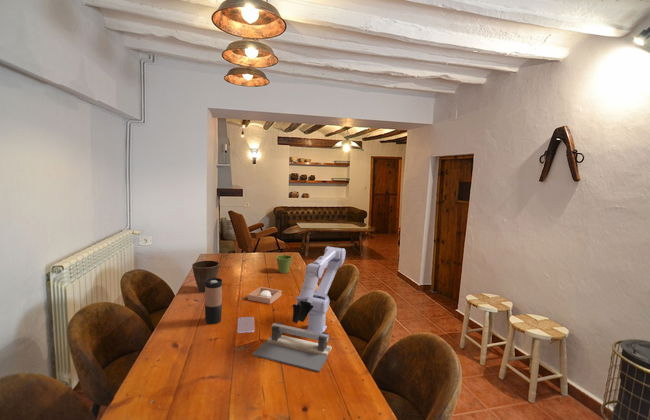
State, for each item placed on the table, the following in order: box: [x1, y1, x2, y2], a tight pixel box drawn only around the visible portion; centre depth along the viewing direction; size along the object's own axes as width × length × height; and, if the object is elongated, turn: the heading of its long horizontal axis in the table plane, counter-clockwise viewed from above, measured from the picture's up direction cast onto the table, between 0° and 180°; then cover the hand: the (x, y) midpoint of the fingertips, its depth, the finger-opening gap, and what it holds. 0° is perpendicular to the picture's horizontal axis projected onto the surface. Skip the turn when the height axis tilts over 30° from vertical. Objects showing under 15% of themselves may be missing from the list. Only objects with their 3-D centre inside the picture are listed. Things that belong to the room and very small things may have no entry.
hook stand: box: [266, 321, 333, 357], centre depth 136 cm, size 6×27×7 cm, turn 72°
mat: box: [251, 341, 328, 373], centre depth 128 cm, size 10×28×1 cm, turn 72°
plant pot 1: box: [191, 260, 220, 293], centre depth 192 cm, size 15×15×16 cm
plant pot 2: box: [275, 254, 293, 274], centre depth 234 cm, size 12×12×11 cm
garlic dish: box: [247, 286, 283, 305], centre depth 186 cm, size 14×14×3 cm
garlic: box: [258, 290, 273, 298], centre depth 186 cm, size 8×7×4 cm
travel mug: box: [204, 277, 223, 325], centre depth 153 cm, size 8×8×20 cm
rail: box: [271, 322, 330, 343], centre depth 136 cm, size 2×25×2 cm, turn 72°
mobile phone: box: [236, 316, 255, 334], centre depth 152 cm, size 8×1×15 cm
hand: (297, 321), depth 131 cm, fingers open, 7 cm apart
